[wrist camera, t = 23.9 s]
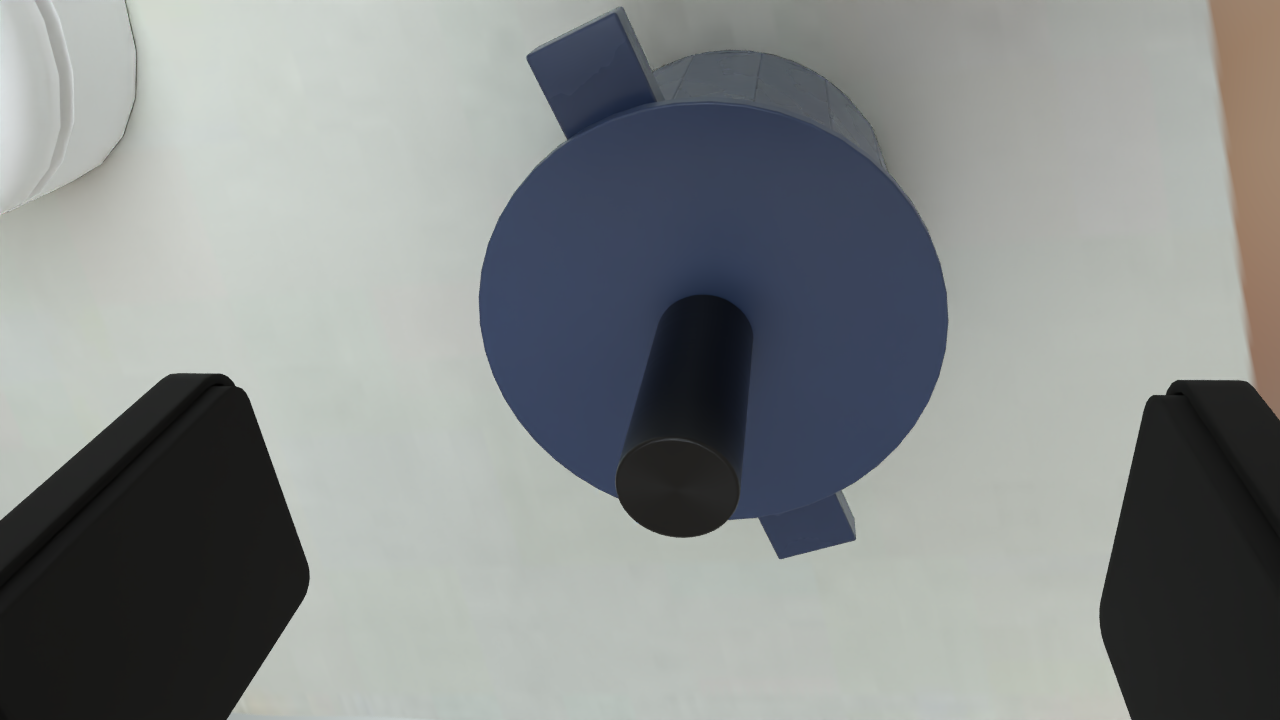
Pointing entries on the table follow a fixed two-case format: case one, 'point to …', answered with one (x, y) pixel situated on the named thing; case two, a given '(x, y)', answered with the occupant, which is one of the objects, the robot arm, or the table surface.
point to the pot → (622, 79)
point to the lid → (713, 311)
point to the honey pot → (61, 91)
